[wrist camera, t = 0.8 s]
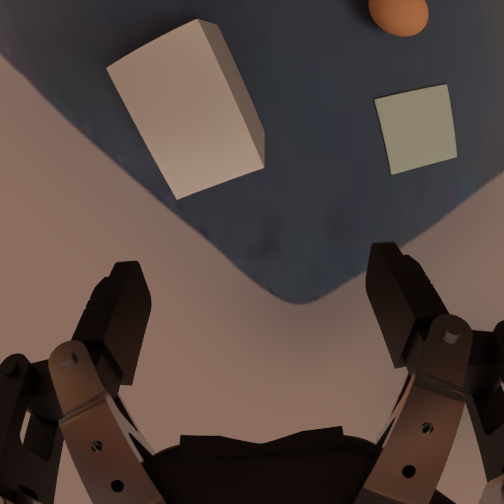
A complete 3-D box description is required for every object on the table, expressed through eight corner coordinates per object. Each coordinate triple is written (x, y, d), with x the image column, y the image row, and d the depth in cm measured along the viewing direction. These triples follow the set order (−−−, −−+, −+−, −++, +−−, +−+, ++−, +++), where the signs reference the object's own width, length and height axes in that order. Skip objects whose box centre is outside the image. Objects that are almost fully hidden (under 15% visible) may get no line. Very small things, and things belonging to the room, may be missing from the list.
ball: (402, -17, 18) (427, -23, 14) (419, 32, 21) (446, 34, 17) (353, -10, 19) (370, -18, 15) (372, 40, 22) (392, 41, 18)
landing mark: (445, 83, 23) (446, 84, 23) (456, 156, 28) (456, 157, 28) (373, 99, 26) (374, 99, 25) (391, 173, 30) (391, 174, 30)
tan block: (217, 24, 22) (197, 18, 15) (264, 131, 28) (264, 167, 21) (149, 57, 24) (106, 67, 17) (198, 156, 30) (176, 199, 23)
